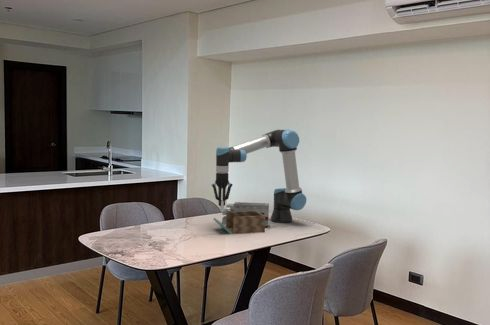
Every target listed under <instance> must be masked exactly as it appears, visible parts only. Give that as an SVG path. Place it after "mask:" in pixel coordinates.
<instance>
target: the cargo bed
mask: <svg viewBox="0 0 490 325" xmlns="http://www.w3.org/2000/svg"><path fill="white" fill-rule="evenodd" d="M225 216H226V224H225V227H226V228H227V229H228V230H230V231H231V232H232V233H233V234H232V235H239V234H254V233H265V232H266V226H265V215H263V214H261V213H259V212H257V211H243V212H226V215H225Z"/></svg>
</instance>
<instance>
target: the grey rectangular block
mask: <svg viewBox="0 0 490 325" xmlns="http://www.w3.org/2000/svg"><path fill="white" fill-rule="evenodd" d="M269 205H270V203H268V202H267V203H265V202H247V201H246V202H244V201H243V202H241V201H235V202H234V203H227V204H225V206H226V208H224V211H223V212H221V213H222V214H221V215H222V216H223V217H222V220H221V223H222V224H223V225H226V212H243V211H257V212H259V213H261V214H263V215H265V227H269V217H270V216H269V214H270V212H269V211H270V209H269V208H270V206H269Z"/></svg>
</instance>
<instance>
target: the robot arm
mask: <svg viewBox="0 0 490 325" xmlns="http://www.w3.org/2000/svg"><path fill="white" fill-rule="evenodd" d="M299 144H300V136H299V134H298V133H297V132H296V131H295V130H291V129H274V130H272V131H270V132H267V133H264V134H261V136H259V137H257V138H254V139H250V140H249V141H245V142H242V143H239V144H236V145H233V146H230V147H228V146H217V147H216V151H215V155H216V156H215V165H216V166H215V172H216V173H215V181H214V183H211V187H212V188H213V193H214V198H215V200H216V201H218V206H219V211H220V212H221V213H222V212H223V211H224V209H225V208H224V206H226V200H229V197H230V192H231V189H232V187H233V183H231V182H230V181H229V173H228V172H229V166H230V165H229V163H245V162H246V161H247V157H248V156H247V154H250V153H253V152H256V151H258V150H261V149H264V148H265V149H268V148H275V147H276V148H278V151H279V153H280V154H281V156H282V164H283V170H284V171H283V172H284V179H285V187H283V188H282V187H281V188H275V189H274V191H273V210H272V213H271V216H270V221H271V222H273V223H277V224H280V223H281V224H289V223H292V222H293V216H292V211H300V210H302V209H303V208H304V207H305V206H306V204H307V197H306V195H305V194H304V193H303V190H302V187H300V182H299V181H300V180H299V174H298V173H299V172H298V168H297V159H296V151H297V150H298V146H299ZM217 187H218V188H217ZM291 210H292V211H291Z"/></svg>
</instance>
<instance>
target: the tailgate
mask: <svg viewBox="0 0 490 325" xmlns="http://www.w3.org/2000/svg"><path fill="white" fill-rule="evenodd" d="M213 221H214V222H215V223H217V224H218V225H219V226H220V227H221V228H222V229H223V230H225V231H226V232H227V233H228V234H230V235H234V234H233V233H232V232H231V231H230V230H228V229H227V228H226V225H225V224H222V221H219V220H218V219H217V218H215V217H214V218H213Z"/></svg>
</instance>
